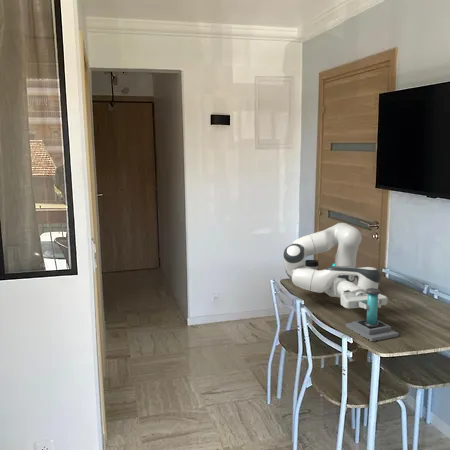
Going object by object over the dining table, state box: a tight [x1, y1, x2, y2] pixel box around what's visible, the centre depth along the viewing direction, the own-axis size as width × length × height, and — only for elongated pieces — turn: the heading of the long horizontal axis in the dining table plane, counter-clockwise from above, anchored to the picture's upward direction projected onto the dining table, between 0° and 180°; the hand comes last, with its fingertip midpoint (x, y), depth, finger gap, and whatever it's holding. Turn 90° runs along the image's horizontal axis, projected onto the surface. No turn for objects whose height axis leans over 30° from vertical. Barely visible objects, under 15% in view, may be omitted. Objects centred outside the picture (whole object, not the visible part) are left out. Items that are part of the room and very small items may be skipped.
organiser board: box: [345, 318, 399, 342], centre depth 207 cm, size 18×14×4 cm
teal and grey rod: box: [365, 288, 381, 328], centre depth 205 cm, size 6×6×16 cm
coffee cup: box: [305, 259, 319, 270], centre depth 274 cm, size 8×8×15 cm
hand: (373, 306), depth 204 cm, fingers closed on teal and grey rod, 4 cm apart
